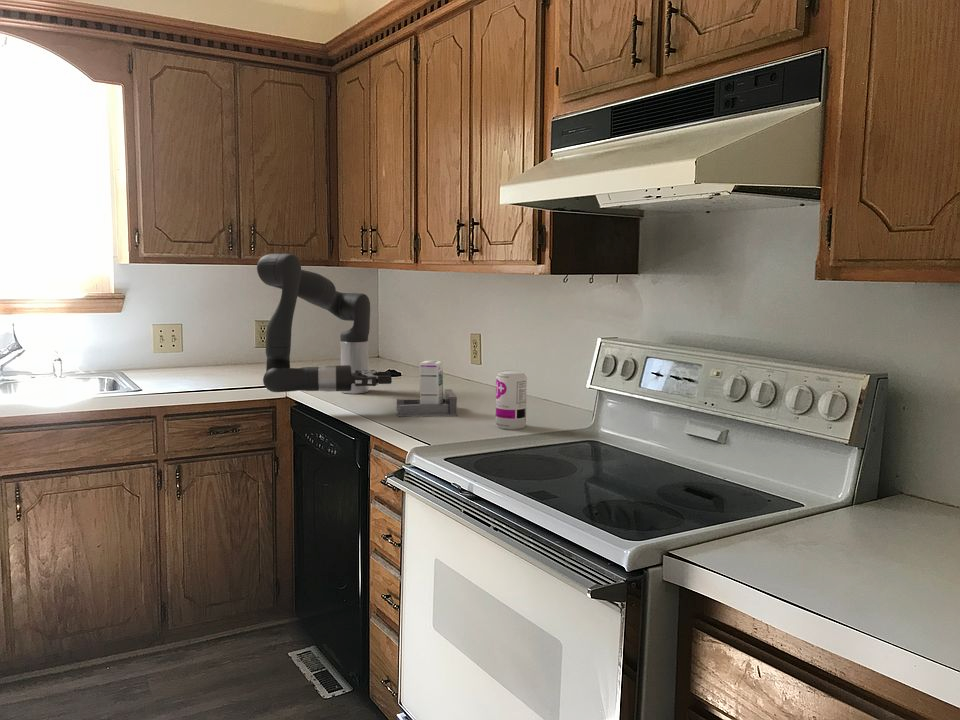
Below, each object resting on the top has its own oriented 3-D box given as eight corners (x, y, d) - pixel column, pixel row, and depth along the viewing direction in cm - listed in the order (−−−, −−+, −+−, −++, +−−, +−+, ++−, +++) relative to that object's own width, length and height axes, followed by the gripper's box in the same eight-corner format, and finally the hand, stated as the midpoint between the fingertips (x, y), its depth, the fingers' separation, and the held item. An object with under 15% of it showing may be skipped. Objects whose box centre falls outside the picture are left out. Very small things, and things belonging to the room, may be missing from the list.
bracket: (396, 407, 246) (396, 390, 245) (451, 406, 248) (452, 389, 247) (398, 416, 232) (398, 398, 231) (457, 415, 234) (457, 396, 234)
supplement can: (501, 430, 215) (501, 374, 213) (492, 424, 222) (492, 370, 220) (530, 429, 217) (531, 373, 215) (520, 423, 225) (520, 369, 223)
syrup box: (438, 412, 237) (438, 363, 235) (419, 411, 238) (419, 362, 236) (443, 408, 242) (443, 360, 240) (424, 408, 243) (424, 360, 241)
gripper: (334, 369, 228) (392, 368, 230) (335, 362, 242) (389, 361, 244) (334, 395, 229) (392, 394, 231) (335, 387, 243) (390, 386, 245)
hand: (391, 377), depth 238 cm, fingers open, 8 cm apart
